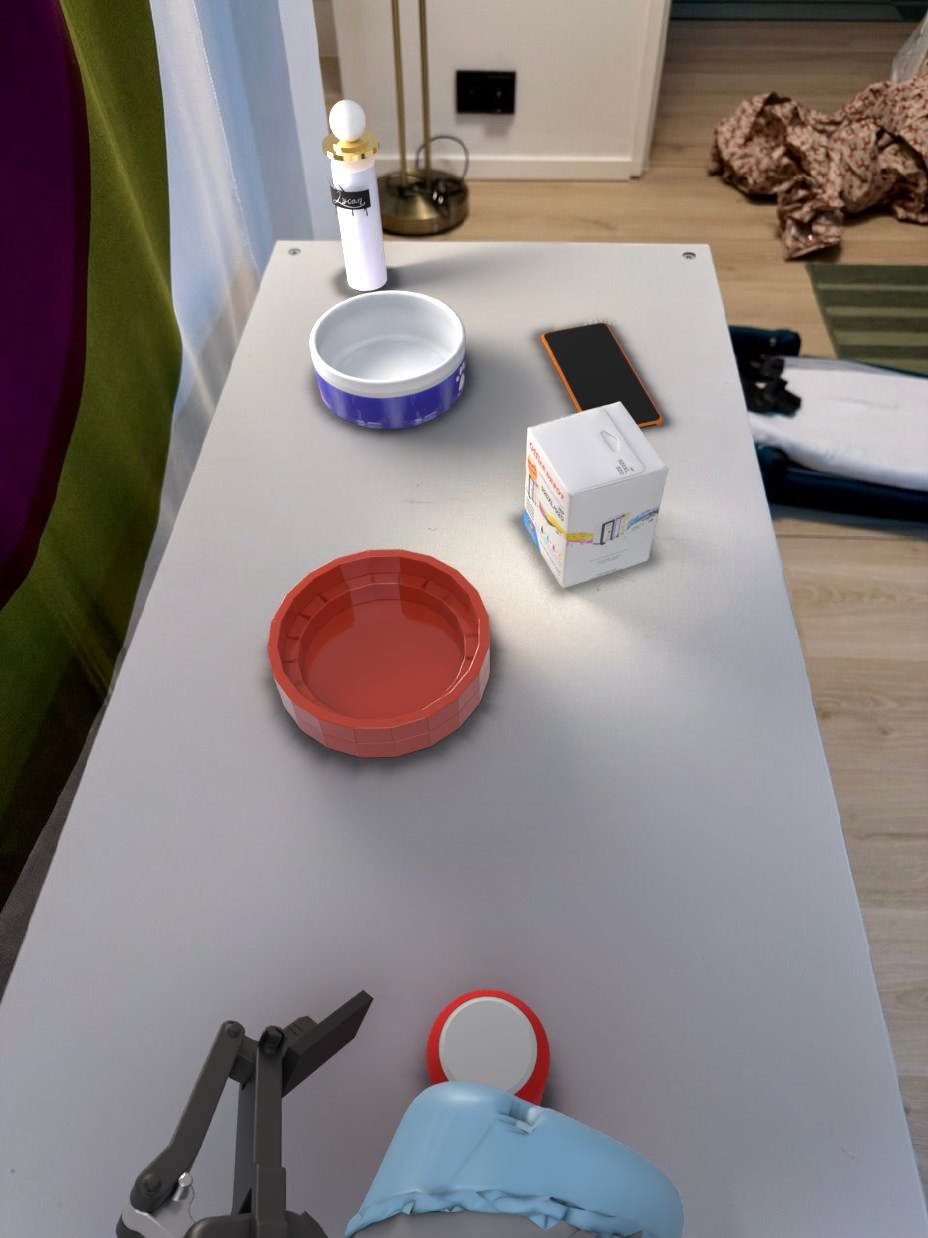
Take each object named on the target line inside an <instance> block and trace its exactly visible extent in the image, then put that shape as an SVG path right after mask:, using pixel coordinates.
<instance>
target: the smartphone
mask: <svg viewBox="0 0 928 1238" xmlns="http://www.w3.org/2000/svg"><path fill="white" fill-rule="evenodd" d="M540 338H541V342H542V343H543V345H544V347H545V349H546V352H547V353H548V355H549V357H550V359H551V361H552V363H553V364H554V365H553V366H554V367H555V369H556V371H557V372H558V373H557V374H558V375H559V377H560V379H561V380H562V382H563V383H562V384H563V385H564V387H565V388H566V390H567V392H568V394H569V396H570V398H571V400H572V402H573V404H574V406H575V408H576V410H577V413H578V412H582V411H586V410H589V409H593V408H597V407H601V406H605V405H609V404H613V403H616V402H621V403H622V404H623V406H624V407H625V409H626V410H627V411H628V413H629V414H630V416H631V417H632V418H633V420H634V421H635V423H636V424H637V425H638V427H639V428H640V429H645V428H649V427H654V426H659V425H661V424H662V423H663V420H664V418H663V416H662V415H661V412H660V411H659V409H658V407H657V405H656V404H655V403H654V401H653V399H652V398H651V396H650V394H649V393H648V390H647V389H646V387H645V386H644V384H643V382H642V380H641V379H640V377H639V375H638V373H637V372H636V370H635V368H634V367H633V365H632V363H631V361H630V359H629V358H628V356H627V354H626V353H625V352H624V349H623V348H622V346H621V344H620V343H619V340H618V339H617V338H616V336H615V335H614V333H613V332H612V330H611V328H610V326H609V324H607V323H606V322H595V323H590V324H585V325H580V326H579V325H578V326H574V327H568V328H562V329H558V330H553V331H546V332H544V333H542V334H541V337H540Z"/></svg>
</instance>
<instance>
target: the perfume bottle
mask: <svg viewBox="0 0 928 1238" xmlns="http://www.w3.org/2000/svg"><path fill="white" fill-rule="evenodd" d="M329 127H330V129H331V133H329V134H327V135H326V136H325V137H324V138H323V139H322V141H321V147H322V152H323V154H324V156H326V157H327V158H329V159H331V161H330V168H331V175H332V178H331V177H330V176H329V177H328V175H326V177H327V180H328V183H329V190H330V197H331V203H332V205H334V208H335V215H336V216H337V217H338V223H339V231H340V237H341V245H342V252H343V258H344V266H345V272H346V278H347V283H348V285H349V287H351V288H352V289H354V290H357V291H362V292H369V291H370V292H371V291H375V290H378V289H380V288H382V287H383V286H384V285H386V284H387V281H388V270H387V260H386V251H385V243H384V242H385V241H384V232H383V224H382V215H381V214H382V213H381V204H380V194H379V185H378V175H377V166H376V158H375V157H374V155H375V154H377V152H378V151H379V149H380V138H379V136H378V135H377V134H376V133H375V132H374V131H372V130H369V129H366V128H367V116H366V113H365V111H364V109H363V107H362V106H361V104H359V103H357V102H356V101H354V100H352V99H342V100H339V101H338V102H336V103H335V104H334V105H333V107H332V108H331V110H330V113H329ZM329 179H330V180H331V183H330V180H329ZM332 185H333V186H332Z"/></svg>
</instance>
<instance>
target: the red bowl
mask: <svg viewBox="0 0 928 1238" xmlns="http://www.w3.org/2000/svg"><path fill="white" fill-rule="evenodd" d="M267 640H268V641H267V645H266V651H267V655H268V659H269V664H270V668H271V672H272V677H273V680H274V682H275V685H276V688H277V690H278V694H279V696H280V699H281V701H282V704H283V707H284V708H285V710H286V711H287V712H288V714H289V715H290V717H291V718H292V719H293V721H294V722H295V724H296V725H297V727H298V728H299V730H301V732H303V733H305V734H306V735H308V736H309V737H310V738H312V739H314V740H315V741H316V742H318V743H319V744H321V745H322V746H324V747H325V748H327V749H330V750H333V751H337V752H341V753H345V754H348V755H351V756H354V757H359V758H396V757H401V756H404V755H406V754H410V753H414V752H417V751H420V750H423V749H427V748H430V747H432V746H434V745H436V744H437V743H438V742H440V741H442V740H443V739H445V738H447V737H448V736H449V735H451V734H452V733H454V732H456V731H457V730H458V729H460V728H461V727H462V726H463V724H464V723H465V722H466V720H467V719H468V718H469V717H470V716H471V715H472V713H473V712H474V711H475V710H476V708H477V707H478V706H479V705H480V703H481V700H482V698H483V695H484V693H485V690H486V687H487V685H488V681H489V679H490V674H491V657H490V656H491V655H490V652H491V651H490V650H491V649H490V645H491V643H490V616H489V613H488V611H487V609H486V606H485V604H484V602H483V600H482V597H481V595H480V592H479V591H478V590H477V589H476V588H475V586H473V584H472V583H471V582H470V581H469V580H468V579H467V578H466V577H465V576H464V575H463V574H462V572H460V571H459V570H458V569H456V568H454V567H452V566H451V565H449V564H447V563H445V562H443V561H442V560H440V559H437V558H436V557H434V556H431V555H429V554H424V553H420V552H415V551H411V550H406V549H402V548H401V549H400V548H389V549H388V548H387V549H367V550H361V551H358V552H354V553H350V554H347V555H342V556H339V557H338V556H337V557H336V558H334V559H332V560H330V561H328V562H326V563H325V564H322V565H320V566H319V567H317V568H315V569H313V570H311V571H310V572H308V573H307V574H306V575H305V576H304V577H302V579H301V580H299V581H298V582H297V583H296V584H295V585H294V586H293V587H292V588H291V589H290V590H289V591H288V592H287V593H286V594H285V596H284V597H283V599H282V600H281V603H280V604H279V606H278V608H277V610H276V611H275V614H274V615H273V616H272V619H271V621H270V627H269V634H268V639H267Z"/></svg>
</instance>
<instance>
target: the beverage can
mask: <svg viewBox="0 0 928 1238" xmlns="http://www.w3.org/2000/svg"><path fill="white" fill-rule="evenodd" d="M425 1056H426V1057H425V1058H426V1060H425V1061H426V1068H427V1073H428V1077H429V1080H430V1084H431V1086H433V1085H436V1084H440V1083H443V1082H450V1081H467V1082H473V1083H478V1084H482V1085H485V1086H489V1087H493V1088H497V1089H500V1090H503V1091H506V1092H508V1093H511V1094H513V1095H515V1096H516V1097H518V1098H520V1099H522V1100H525V1101H527V1102H529V1103H532V1104H534V1105H537V1106H540V1107H541V1103H542V1099H543V1095H544V1092H545V1088H546V1085H547V1084H546V1083H547V1081H548V1077H549V1072H550V1064H551V1050H550V1043H549V1040H548V1036H547V1033H546V1030H545V1028H544V1026H543V1024H542V1022H541V1021H540V1019H539V1017H538V1016H537V1014H536V1013H535V1011H534V1010H532V1009H531V1007H530V1006H529V1005H528V1004H527V1003H525V1002H524V1001H523V1000H521V999H520V998H518V997H516V996H515V995H513V994H510V993H509V992H505V991H502V990H498V989H477V990H472V991H469V992H466V993H464V994H461V995H460V996H458V997H457V998H455V999H453V1000H452V1001H451V1002H449V1003H448V1004H447V1005H446V1006H445V1007H444V1008H443V1009H442V1010H441V1012H440V1013H439V1014H438V1016H437V1017H436V1019H435V1021H434V1023H433V1024H432V1027H431V1028H430V1032H429V1035H428V1038H427V1044H426V1053H425Z"/></svg>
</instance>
